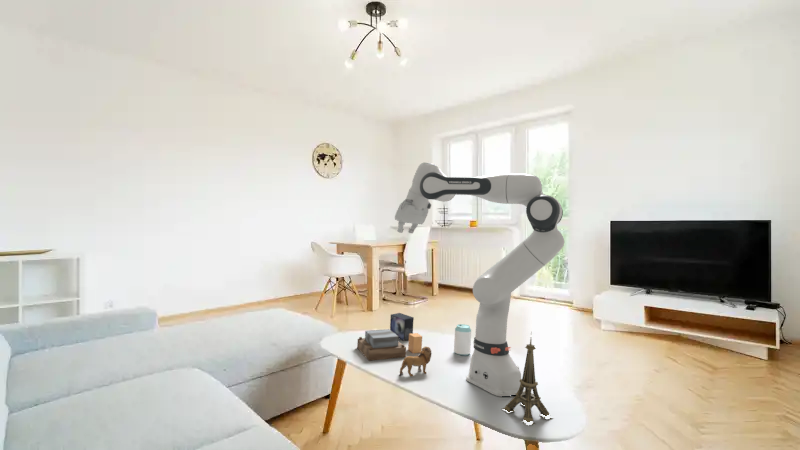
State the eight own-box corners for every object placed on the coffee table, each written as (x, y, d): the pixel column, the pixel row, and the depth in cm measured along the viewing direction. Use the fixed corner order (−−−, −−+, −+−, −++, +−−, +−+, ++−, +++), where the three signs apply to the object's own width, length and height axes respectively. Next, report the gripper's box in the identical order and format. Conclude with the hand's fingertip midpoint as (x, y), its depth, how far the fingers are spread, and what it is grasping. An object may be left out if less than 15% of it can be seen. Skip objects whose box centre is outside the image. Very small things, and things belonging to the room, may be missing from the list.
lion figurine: (424, 367, 149) (425, 344, 149) (434, 371, 145) (435, 347, 145) (394, 375, 140) (396, 350, 140) (404, 380, 136) (405, 354, 136)
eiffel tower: (553, 418, 114) (557, 334, 113) (528, 426, 108) (533, 338, 108) (525, 403, 123) (529, 325, 123) (501, 409, 117) (505, 328, 117)
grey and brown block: (405, 357, 159) (406, 337, 159) (368, 360, 153) (369, 340, 153) (391, 344, 174) (392, 327, 174) (357, 347, 167) (358, 329, 167)
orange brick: (421, 352, 166) (422, 336, 166) (412, 353, 164) (413, 337, 164) (416, 348, 170) (417, 333, 170) (408, 349, 169) (408, 333, 169)
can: (453, 355, 164) (455, 327, 164) (453, 349, 171) (455, 323, 171) (470, 356, 163) (472, 328, 163) (469, 351, 170) (471, 324, 170)
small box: (388, 335, 188) (389, 314, 188) (398, 333, 192) (399, 312, 192) (403, 341, 180) (404, 318, 180) (413, 338, 185) (414, 317, 185)
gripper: (411, 201, 146) (399, 234, 148) (433, 205, 164) (422, 235, 166) (397, 195, 149) (386, 228, 151) (420, 200, 167) (410, 230, 169)
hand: (405, 232), depth 158 cm, fingers open, 8 cm apart
